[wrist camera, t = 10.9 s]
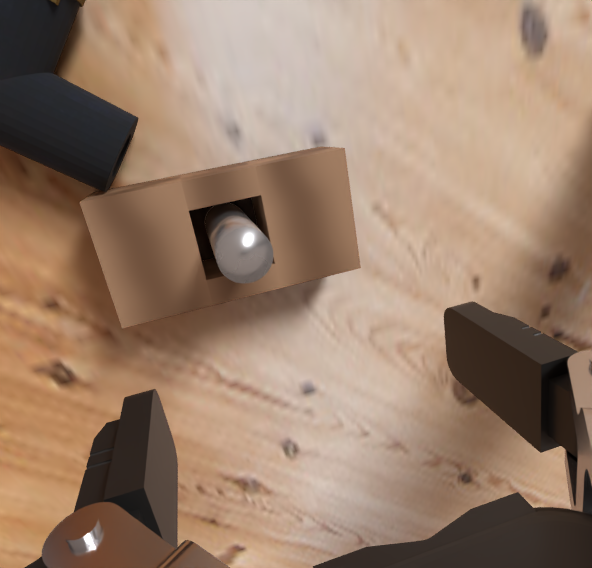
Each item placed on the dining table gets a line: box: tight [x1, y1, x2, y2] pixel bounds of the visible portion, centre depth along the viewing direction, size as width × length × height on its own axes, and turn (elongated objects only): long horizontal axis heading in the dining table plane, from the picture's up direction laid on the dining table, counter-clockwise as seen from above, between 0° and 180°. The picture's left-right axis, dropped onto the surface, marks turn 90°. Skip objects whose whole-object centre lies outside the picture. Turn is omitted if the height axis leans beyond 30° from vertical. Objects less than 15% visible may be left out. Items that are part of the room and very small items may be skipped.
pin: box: [205, 203, 273, 284], centre depth 29 cm, size 3×3×10 cm
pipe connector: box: [0, 0, 138, 192], centre depth 25 cm, size 12×5×15 cm
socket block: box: [80, 147, 361, 328], centre depth 31 cm, size 16×8×5 cm, turn 102°
